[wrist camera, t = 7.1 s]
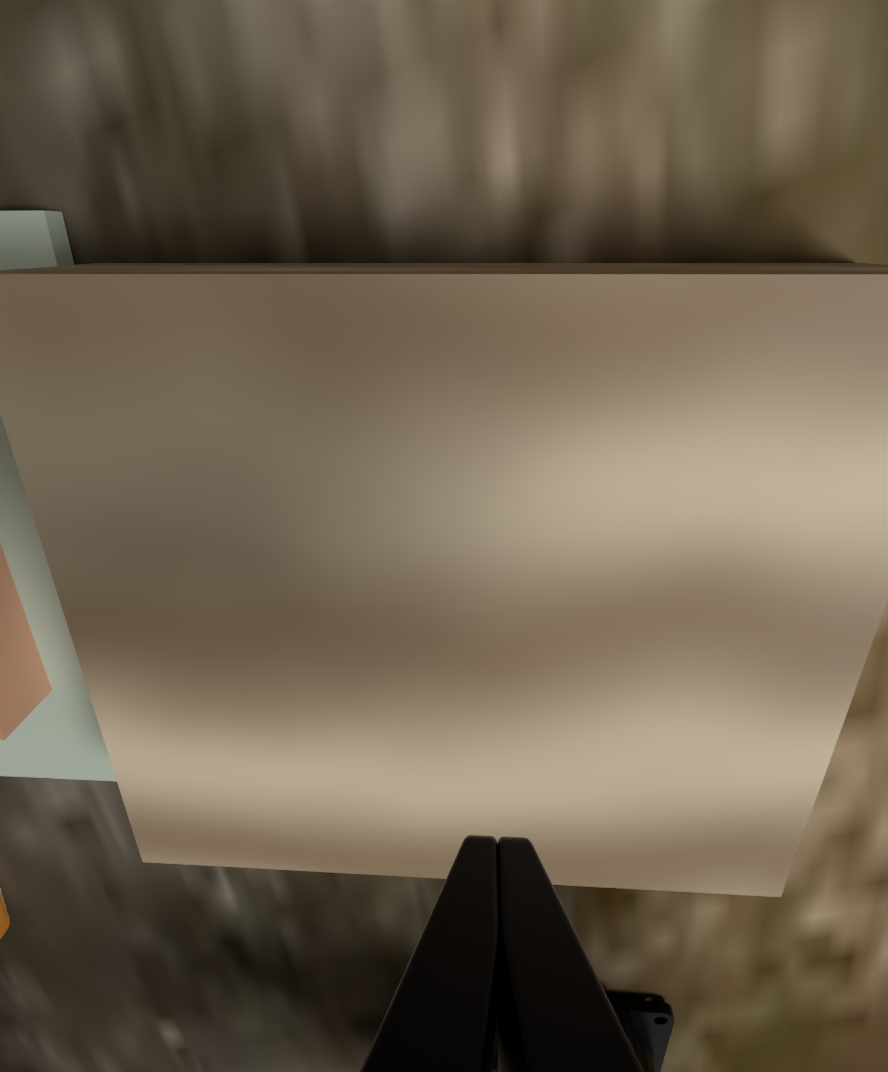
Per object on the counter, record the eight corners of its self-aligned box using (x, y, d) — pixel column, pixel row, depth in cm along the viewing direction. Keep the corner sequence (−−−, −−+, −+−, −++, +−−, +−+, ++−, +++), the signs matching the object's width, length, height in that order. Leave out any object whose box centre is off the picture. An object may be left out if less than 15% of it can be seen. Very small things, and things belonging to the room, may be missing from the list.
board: (724, 770, 19) (780, 897, 15) (205, 747, 20) (142, 862, 16) (857, 263, 13) (1004, 274, 9) (96, 263, 14) (-45, 274, 10)
